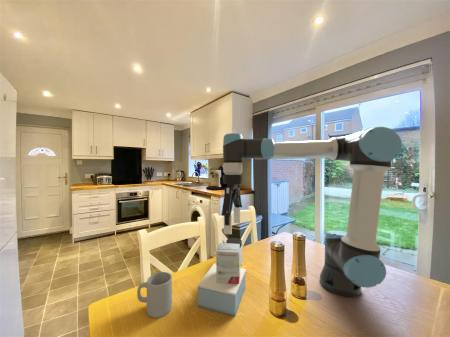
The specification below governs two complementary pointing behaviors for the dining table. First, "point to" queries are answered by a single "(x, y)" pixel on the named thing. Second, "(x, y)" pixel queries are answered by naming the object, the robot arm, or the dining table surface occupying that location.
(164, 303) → the mug
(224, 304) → the blue lidded box
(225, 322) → the dining table surface
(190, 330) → the dining table surface
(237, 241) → the jar
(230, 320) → the dining table surface
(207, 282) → the lid
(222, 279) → the ink box
